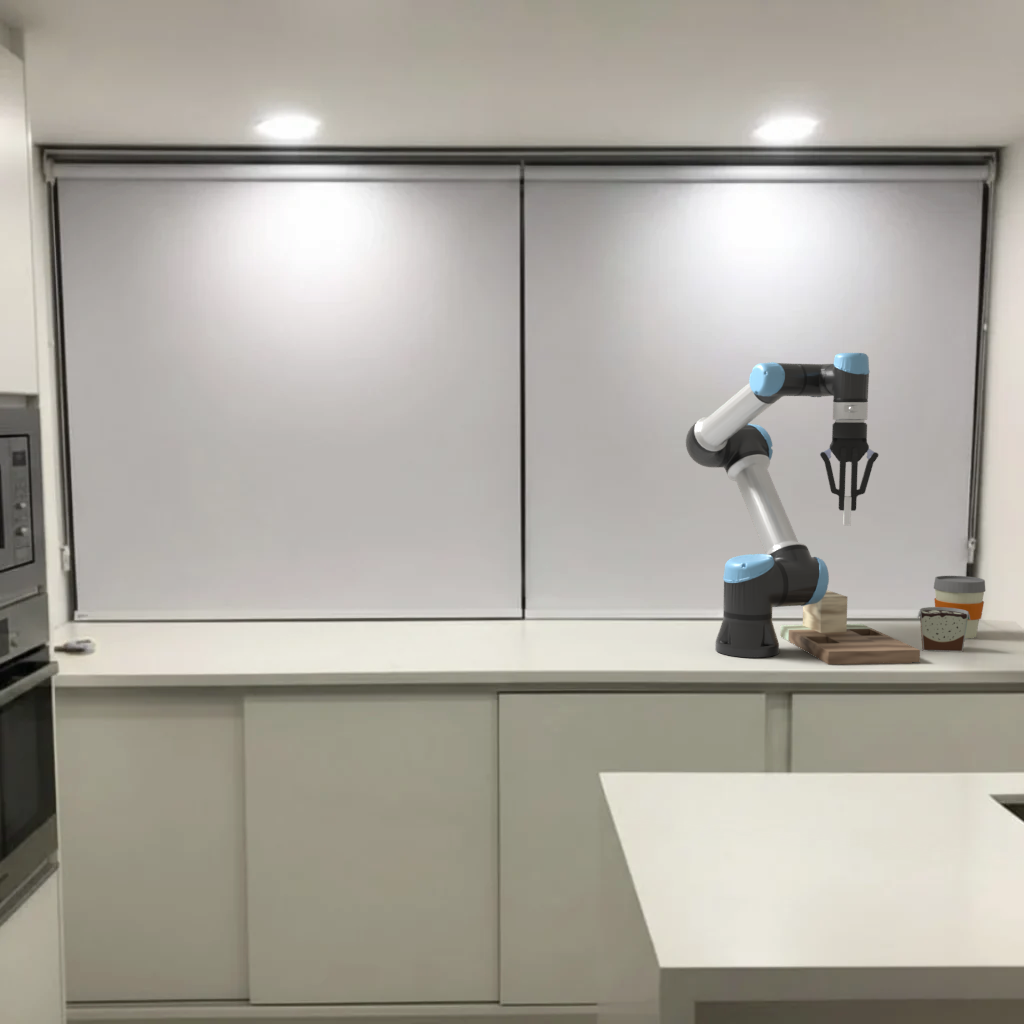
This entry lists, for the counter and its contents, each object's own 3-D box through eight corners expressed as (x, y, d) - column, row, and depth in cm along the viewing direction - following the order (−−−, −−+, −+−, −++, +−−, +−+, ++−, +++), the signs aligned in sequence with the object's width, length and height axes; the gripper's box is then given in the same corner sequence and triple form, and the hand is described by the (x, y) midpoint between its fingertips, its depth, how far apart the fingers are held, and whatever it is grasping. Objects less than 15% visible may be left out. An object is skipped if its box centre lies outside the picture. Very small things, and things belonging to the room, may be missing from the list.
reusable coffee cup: (923, 634, 278) (925, 578, 276) (946, 628, 286) (948, 574, 284) (969, 642, 268) (972, 584, 267) (992, 635, 276) (994, 579, 275)
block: (846, 631, 266) (847, 596, 265) (820, 632, 264) (821, 597, 264) (827, 624, 276) (828, 590, 275) (802, 625, 274) (803, 591, 274)
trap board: (919, 662, 245) (920, 650, 245) (828, 664, 243) (828, 651, 243) (861, 635, 277) (861, 624, 276) (780, 636, 275) (780, 625, 274)
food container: (960, 646, 263) (962, 607, 262) (969, 651, 257) (970, 611, 256) (910, 645, 264) (911, 606, 263) (917, 650, 258) (918, 610, 257)
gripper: (820, 421, 237) (817, 525, 239) (881, 421, 233) (878, 527, 235) (819, 421, 244) (816, 522, 246) (878, 421, 241) (875, 524, 243)
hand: (846, 524), depth 241 cm, fingers closed
